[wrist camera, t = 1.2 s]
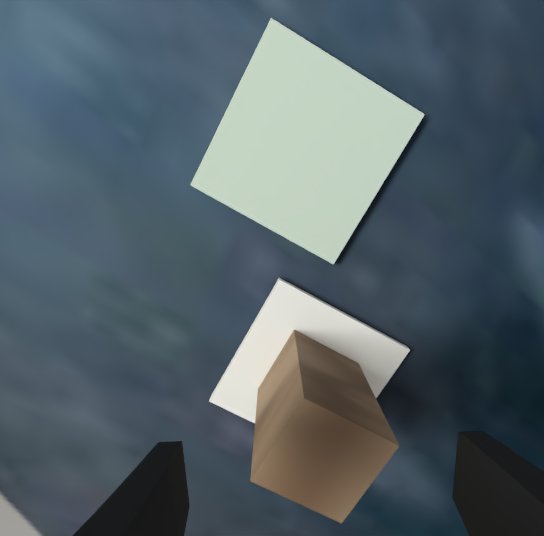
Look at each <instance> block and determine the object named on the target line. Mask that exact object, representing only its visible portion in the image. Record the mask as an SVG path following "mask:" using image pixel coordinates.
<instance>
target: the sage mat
mask: <svg viewBox="0 0 544 536" xmlns="http://www.w3.org/2000/svg"><path fill="white" fill-rule="evenodd" d="M424 115H425V114H423V113H422V112H420V111H418V110H417V109H415V108H414V107H412V106H410V105H409V104H407V103H406V102H404V101H403V100H401V99H399V98H398V97H396V96H395V95H393V94H391V93H390V92H388V91H387V90H385V89H383V88H382V87H380V86H379V85H377V84H375V83H374V82H372V81H371V80H369V79H367V78H366V77H364V76H363V75H361V74H360V73H358V72H356V71H355V70H353V69H352V68H350V67H348V66H347V65H345V64H344V63H342V62H340V61H339V60H337V59H336V58H334V57H332V56H331V55H329V54H328V53H326V52H325V51H323V50H321V49H320V48H318V47H317V46H315V45H313V44H312V43H310V42H309V41H307V40H305V39H304V38H302V37H301V36H299V35H297V34H296V33H294V32H293V31H291V30H289V29H288V28H286V27H285V26H283V25H282V24H280V23H278V22H277V21H275V20H274V19H272V18H271V19H270V21H269V24H268V26H267V28H266V30H265V32H264V34H263V36H262V38H261V40H260V42H259V44H258V46H257V48H256V50H255V52H254V55H253V57H252V59H251V61H250V63H249V65H248V67H247V69H246V71H245V73H244V75H243V77H242V79H241V81H240V84H239V86H238V88H237V90H236V92H235V94H234V96H233V98H232V100H231V102H230V104H229V106H228V108H227V110H226V112H225V115H224V117H223V119H222V121H221V123H220V125H219V127H218V129H217V131H216V133H215V135H214V137H213V139H212V141H211V144H210V146H209V148H208V150H207V152H206V154H205V156H204V158H203V160H202V162H201V164H200V166H199V168H198V170H197V172H196V175H195V177H194V179H193V181H192V183H191V186H193V187H194V188H196V189H198V190H200V191H202V192H203V193H205V194H207V195H209V196H211V197H212V198H214V199H216V200H218V201H220V202H222V203H223V204H225V205H227V206H229V207H231V208H232V209H234V210H236V211H238V212H240V213H241V214H243V215H245V216H247V217H249V218H250V219H252V220H254V221H256V222H258V223H259V224H261V225H263V226H265V227H267V228H268V229H270V230H272V231H274V232H276V233H278V234H279V235H281V236H283V237H285V238H287V239H288V240H290V241H292V242H294V243H296V244H297V245H299V246H301V247H303V248H305V249H306V250H308V251H310V252H312V253H314V254H315V255H317V256H319V257H321V258H323V259H324V260H326V261H328V262H330V263H332V264H334V263H335V261H336V260H337V258H338V256H339V255H340V253H341V251H342V250H343V248H344V246H345V245H346V243H347V242H348V240H349V238H350V237H351V235H352V233H353V232H354V230H355V228H356V227H357V225H358V223H359V222H360V220H361V219H362V217H363V215H364V214H365V212H366V210H367V209H368V207H369V205H370V204H371V202H372V200H373V199H374V197H375V196H376V194H377V192H378V191H379V189H380V187H381V186H382V184H383V182H384V181H385V179H386V177H387V176H388V174H389V173H390V171H391V169H392V168H393V166H394V164H395V163H396V161H397V159H398V158H399V156H400V154H401V153H402V151H403V150H404V148H405V146H406V145H407V143H408V141H409V140H410V138H411V136H412V135H413V133H414V131H415V130H416V128H417V126H418V125H419V123H420V122H421V120H422V118H423V117H424Z"/></svg>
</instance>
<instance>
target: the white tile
mask: <svg viewBox="0 0 544 536" xmlns="http://www.w3.org/2000/svg"><path fill="white" fill-rule="evenodd" d="M293 330H296V331H298V332H300V333H301V334H303V335H305V336H307V337H309V338H311V339H313V340H315V341H317V342H319V343H321V344H323V345H324V346H326V347H328V348H330V349H332V350H334V351H336V352H338V353H340V354H342V355H344V356H346V357H347V358H349V359H351V360H353V361H355V362H357V363H359V365H360V367H361V369H362V371H363V373H364V375H365V377H366V379H367V381H368V383H369V385H370V387H371V389H372V392H373V394H374V396H375V398H377V397H378V395H379V394H380V392H381V391H382V390H383V388H384V387H385V385H386V384H387V382H388V381H389V380H390V378H391V377H392V375H393V374H394V372H395V371H396V370H397V368H398V367H399V365H400V364H401V362H402V361H403V360H404V358H405V357H406V355H407V354H408V353H409V351H410V349H409V348H408V347H407V346H406V345H404V344H402V343H400V342H398V341H396V340H394V339H393V338H391V337H389V336H387V335H385V334H383V333H381V332H380V331H378V330H376V329H374V328H372V327H370V326H368V325H367V324H365V323H363V322H361V321H359V320H357V319H355V318H354V317H352V316H350V315H348V314H346V313H344V312H342V311H341V310H339V309H337V308H335V307H333V306H331V305H329V304H328V303H326V302H324V301H322V300H320V299H318V298H316V297H315V296H313V295H311V294H309V293H307V292H305V291H303V290H302V289H300V288H298V287H296V286H294V285H292V284H290V283H289V282H287V281H285V280H283V279H281V278H279V279H278V281H277V282H276V284H275V286H274V288H273V289H272V291H271V293H270V294H269V296H268V298H267V300H266V301H265V303H264V305H263V307H262V308H261V310H260V312H259V314H258V315H257V317H256V319H255V321H254V322H253V324H252V326H251V327H250V329H249V331H248V333H247V334H246V336H245V338H244V340H243V341H242V343H241V345H240V347H239V348H238V350H237V352H236V353H235V355H234V357H233V359H232V360H231V362H230V364H229V366H228V367H227V369H226V371H225V373H224V374H223V376H222V378H221V380H220V381H219V383H218V385H217V386H216V388H215V390H214V392H213V393H212V395H211V397H210V400H209V401H210V402H212V403H214V404H216V405H218V406H220V407H222V408H224V409H226V410H228V411H230V412H232V413H234V414H236V415H239V416H241V417H243V418H245V419H247V420H249V421H251V422H253V423H255V418H256V406H257V394H258V388H259V386H260V385H261V383H262V381H263V380H264V378H265V376H266V375H267V373H268V372H269V370H270V368H271V367H272V365H273V363H274V362H275V360H276V358H277V357H278V355H279V353H280V352H281V350H282V349H283V347H284V345H285V344H286V342H287V340H288V339H289V337H290V335H291V334H292V332H293Z"/></svg>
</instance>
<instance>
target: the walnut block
mask: <svg viewBox="0 0 544 536" xmlns="http://www.w3.org/2000/svg"><path fill="white" fill-rule="evenodd" d="M398 447H399V444H398V442H397V440H396V438H395V436H394V434H393V432H392V430H391V428H390V426H389V424H388V422H387V420H386V418H385V416H384V414H383V412H382V410H381V408H380V406H379V404H378V402H377V400H376V398H375V396H374V394H373V392H372V389H371V387H370V385H369V383H368V381H367V379H366V377H365V375H364V373H363V371H362V369H361V367H360V365H359V363H357V362H355V361H353V360H351V359H349V358H347V357H346V356H344V355H342V354H340V353H338V352H336V351H334V350H332V349H330V348H328V347H326V346H324V345H323V344H321V343H319V342H317V341H315V340H313V339H311V338H309V337H307V336H305V335H303V334H301V333H300V332H298V331H296V330H293V332H292V334H291V335H290V337H289V339H288V340H287V342H286V344H285V345H284V347H283V349H282V350H281V352H280V353H279V355H278V357H277V358H276V360H275V362H274V363H273V365H272V367H271V368H270V370H269V372H268V373H267V375H266V376H265V378H264V380H263V381H262V383H261V385H260V386H259V388H258V394H257V406H256V418H255V431H254V443H253V456H252V468H251V480H250V481H251V482H253V483H255V484H258V485H260V486H262V487H264V488H266V489H268V490H271V491H273V492H275V493H277V494H279V495H281V496H284V497H286V498H288V499H290V500H292V501H294V502H297V503H299V504H301V505H303V506H305V507H307V508H310V509H312V510H314V511H316V512H318V513H320V514H323V515H325V516H327V517H329V518H331V519H333V520H336V521H338V522H340V523H342V522H343V521H344V519H345V518H346V517H347V515H348V514H349V513H350V511H351V510H352V509H353V507H354V506H355V505H356V503H357V502H358V501H359V499H360V498H361V497H362V495H363V494H364V493H365V491H366V490H367V489H368V487H369V486H370V485H371V483H372V482H373V481H374V479H375V478H376V477H377V475H378V474H379V473H380V471H381V470H382V469H383V467H384V466H385V465H386V463H387V462H388V461H389V459H390V458H391V457H392V455H393V454H394V453H395V451H396V450H397V448H398Z"/></svg>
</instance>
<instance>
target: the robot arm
mask: <svg viewBox="0 0 544 536" xmlns="http://www.w3.org/2000/svg"><path fill="white" fill-rule="evenodd" d="M452 498H453V500H454V502H455V504H456V507H457V509H458V511H459V514H460V516H461V518H462V520H463V523H464V525H465V527H466V529H467V531H468V533H469V536H544V472H543V471H542V470H540V469H539V468H538V467H536V466H535V465H533V464H532V463H530V462H529V461H527V460H526V459H524V458H523V457H521V456H520V455H518V454H517V453H515V452H514V451H512V450H511V449H509V448H508V447H506V446H505V445H503V444H502V443H500V442H499V441H497V440H496V439H494V438H493V437H491V436H489V435H488V434H486V433H484V432H483V431H473V432H458V443H457V454H456V464H455V475H454V486H453V496H452ZM188 511H189V497H188V489H187V480H186V472H185V463H184V455H183V446H182V441H176V442H159V443H158V444H157V445H156V446H155V447H154V448H153V449H152V450H151V451H150V452H149V453H148V454H147V456H146V457H145V458H144V459H143V460H142V461H141V462H140V463H139V465H138V466H137V467H136V468H135V469H134V470H133V471H132V472H131V474H130V475H129V476H128V477H127V478H126V479H125V480H124V481H123V483H122V484H121V485H120V486H119V487H118V488H117V489H116V490H115V491H114V492H113V494H112V495H111V496H110V497H109V498H108V499H107V500H106V501H105V502H104V503H103V504H102V505H101V506H100V508H99V509H98V510H97V511H96V512H95V513H94V514H93V515H92V516H91V517H90V518H89V519H88V520H87V521H86V522H85V523H84V525H83V526H82V527H81V528H80V529H79V530H78V531H77V532H76V533H75V534H74V535H73V536H184V532H185V527H186V522H187V516H188Z"/></svg>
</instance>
